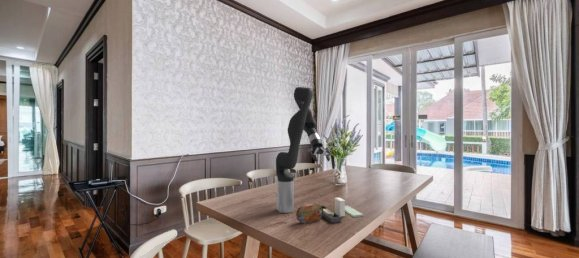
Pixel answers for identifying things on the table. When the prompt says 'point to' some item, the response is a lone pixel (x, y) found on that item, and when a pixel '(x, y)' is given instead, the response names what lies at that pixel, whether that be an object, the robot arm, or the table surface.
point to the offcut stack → (328, 212)
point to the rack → (329, 218)
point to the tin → (309, 213)
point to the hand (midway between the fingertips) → (322, 160)
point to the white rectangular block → (340, 206)
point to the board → (352, 212)
